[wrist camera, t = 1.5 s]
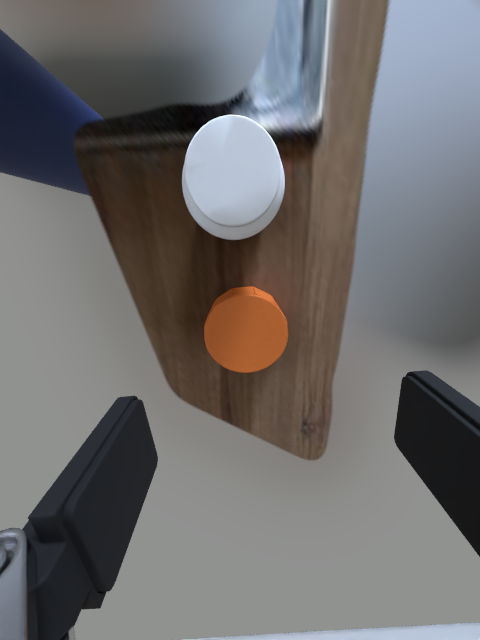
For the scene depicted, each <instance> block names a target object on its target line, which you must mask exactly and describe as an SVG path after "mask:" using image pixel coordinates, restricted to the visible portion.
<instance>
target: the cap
mask: <svg viewBox="0 0 480 640" xmlns="http://www.w3.org/2000/svg"><path fill="white" fill-rule="evenodd" d="M204 339H205V344H206V347H207V349H208V351H209V353H210V355H211V356H212V357H213V359H214V360H215V361H216V362H218V363H219V364H220V365H222V366H223V367H225V368H227V369H229V370H232V371H236V372H242V373H249V372H256V371H259V370H262V369H264V368H266V367H268V366H270V365H271V364H273V363H274V362H275V361H276V360H277V359H278V358H279V357H280V356H281V354H282V353H283V351H284V349H285V347H286V344H287V340H288V327H287V320H286V318H285V316H284V315H283V313H282V311H281V310H280V308H279V307H278V305H277V303H276V302H275V300H274V299H273V297H272V296H271V295H270V294H268V293H266V292H264V291H261V290H259V289H257V288H255V287H252V286H251V287H237V288H233V289H232V288H231V289H230V290H228V291H227V292H225V293H224V294H222V295H221V296H219V297H218V298H216V300H215V301H214V303H213V305H212V308H211V310H210V312H209V314H208V316H207V319H206V322H205V325H204Z"/></svg>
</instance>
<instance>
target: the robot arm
mask: <svg viewBox="0 0 480 640" xmlns="http://www.w3.org/2000/svg"><path fill="white" fill-rule="evenodd" d="M394 439H395V443H396V445H397V447H398V448H399V450H400V451H401V452H402V454H403V455H404V456H405V458H406V459H407V460H408V462H409V463H410V464H411V466H412V467H413V468H414V470H415V471H416V472H417V474H418V475H419V476H420V478H421V479H422V480H423V482H424V483H425V484H426V486H427V487H428V488H429V490H430V491H431V492H432V494H433V495H434V496H435V498H436V499H437V500H438V502H439V503H440V504H441V506H442V507H443V508H444V510H445V511H446V512H447V514H448V515H449V516H450V518H451V519H452V520H453V522H454V523H455V524H456V526H457V527H458V528H459V530H460V531H461V532H462V534H463V535H464V536H465V538H466V539H467V540H468V542H469V543H470V544H471V546H472V547H473V548H474V550H475V551H476V552H477V554H478V555H479V556H480V407H479V406H477V405H476V404H475V403H473V402H472V401H470V400H469V399H468V398H466V397H465V396H463V395H462V394H460V393H459V392H458V391H456V390H455V389H453V388H452V387H451V386H449V385H448V384H446V383H445V382H444V381H442V380H441V379H440V378H438V377H437V376H435V375H434V374H432V373H431V372H429V371H415V372H409V373H407V375H406V377H403V379H402V383H401V390H400V397H399V405H398V412H397V420H396V427H395V435H394ZM157 461H158V457H157V452H156V448H155V445H154V441H153V437H152V434H151V430H150V427H149V423H148V419H147V416H146V412H145V408H144V405H143V402H142V400H138V398H137V397H136V396H128V397H119V398H118V399H117V400H116V401H115V402H114V404H113V405H112V406H111V408H110V409H109V410H108V412H107V413H106V414H105V416H104V417H103V418H102V420H101V421H100V422H99V424H98V425H97V427H96V428H95V429H94V430H93V431H92V433H91V434H90V435H89V437H88V438H87V439H86V441H85V442H84V443H83V445H82V446H81V448H80V449H79V450H78V452H77V453H76V454H75V456H74V457H73V458H72V460H71V461H70V462H69V463H68V465H67V466H66V467H65V469H64V470H63V471H62V473H61V474H60V476H59V477H58V478H57V480H56V481H55V482H54V483H53V485H52V486H51V488H50V489H49V490H48V491H47V493H46V494H45V496H44V497H43V498H42V500H41V501H40V502H39V504H38V505H37V506H36V507H35V509H34V510H33V511H32V513H31V514H30V515H29V517H28V519H29V521H28V523H27V524H26V525H25V527H24V528H23V529H22V530H21V529H19V528H9V529H5V530H2V531H0V640H75V632H74V625H75V623H76V621H77V618H78V616H79V613H80V611H81V609H96V608H100V607H101V605H102V602H103V599H104V597H105V594H106V591H110V590H111V589H112V587H113V586H114V583H115V581H116V578H117V576H118V573H119V570H120V567H121V564H122V562H123V559H124V556H125V553H126V551H127V548H128V545H129V542H130V539H131V537H132V533H133V531H134V528H135V525H136V523H137V520H138V517H139V514H140V511H141V508H142V506H143V503H144V500H145V498H146V494H147V492H148V489H149V486H150V484H151V481H152V478H153V475H154V472H155V470H156V467H157ZM182 640H480V622H479V623H461V624H460V623H459V624H439V625H420V626H402V627H383V628H366V629H348V630H330V631H313V632H295V633H278V634H262V635H244V636H230V637H214V638H198V639H182Z"/></svg>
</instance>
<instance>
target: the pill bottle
mask: <svg viewBox="0 0 480 640" xmlns="http://www.w3.org/2000/svg"><path fill="white" fill-rule="evenodd" d="M284 187H285V178H284V170H283V166H282V162H281V160H280V156H279V153H278V150H277V147H276V145H275V143H274V141H273V140H272V138H271V136H270V135H269V134H268V132H267V131H266V130H265V129H264V128H263V127H262V126H260V125H259V124H258V123H256V122H255V121H253V120H251V119H249V118H247V117H244V116H239V115H225V116H220V117H218V118H215V119H213V120H211V121H209V122H208V123H207V124H205V125H204V126H203V127H201V128H200V130H199V131H198V132H197V133H196V134H195V136H194V137H193V139H192V141H191V143H190V145H189V147H188V150H187V153H186V157H185V163H184V167H183V173H182V189H183V195H184V199H185V202H186V205H187V207H188V209H189V211H190V213H191V215H192V217H193V218H194V219H195V221H196V222H197V223H198V224H199V225H200V226H201V227H202V228H203V229H204V230H206V231H207V232H209V233H210V234H212V235H214V236H217V237H219V238H223V239H228V240H240V239H245V238H248V237H251V236H253V235H255V234H257V233H259V232H260V231H261V230H263V229H264V228H265V227H266V226H267V225H268V224H269V223H270V222H271V221H272V220H273V218H274V217H275V215H276V214H277V212H278V210H279V208H280V205H281V202H282V199H283V195H284Z"/></svg>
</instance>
